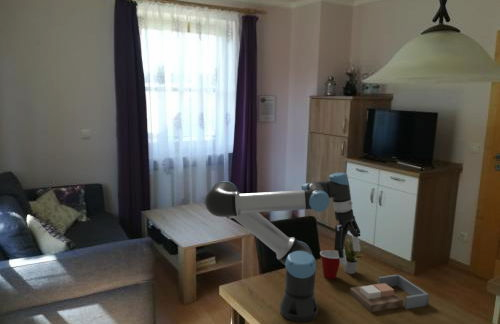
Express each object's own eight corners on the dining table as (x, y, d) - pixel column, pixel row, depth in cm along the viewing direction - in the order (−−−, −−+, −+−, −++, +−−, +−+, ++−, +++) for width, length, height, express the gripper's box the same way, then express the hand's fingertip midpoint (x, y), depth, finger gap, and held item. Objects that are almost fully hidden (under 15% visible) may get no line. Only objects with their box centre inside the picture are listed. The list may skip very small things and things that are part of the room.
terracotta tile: (381, 297, 162) (382, 291, 162) (372, 290, 168) (373, 284, 167) (393, 295, 164) (394, 289, 164) (384, 288, 170) (384, 283, 169)
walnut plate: (370, 312, 156) (370, 305, 155) (349, 294, 170) (350, 287, 169) (402, 306, 161) (403, 299, 160) (380, 289, 175) (380, 283, 174)
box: (406, 309, 159) (407, 297, 158) (377, 287, 177) (378, 277, 176) (427, 305, 162) (429, 294, 161) (397, 284, 180) (398, 274, 179)
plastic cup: (339, 272, 191) (341, 249, 189) (342, 282, 180) (344, 258, 178) (317, 270, 192) (318, 248, 190) (319, 281, 181) (320, 257, 179)
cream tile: (368, 299, 160) (368, 293, 160) (360, 292, 166) (360, 286, 165) (380, 297, 162) (381, 291, 162) (371, 290, 168) (372, 285, 167)
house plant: (367, 267, 197) (369, 237, 194) (367, 279, 184) (370, 247, 181) (338, 263, 201) (340, 233, 198) (337, 275, 188) (339, 243, 185)
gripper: (338, 220, 148) (345, 271, 152) (363, 200, 167) (370, 246, 170) (321, 219, 153) (328, 268, 156) (347, 200, 172) (354, 245, 175)
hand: (350, 257), depth 163 cm, fingers open, 13 cm apart
